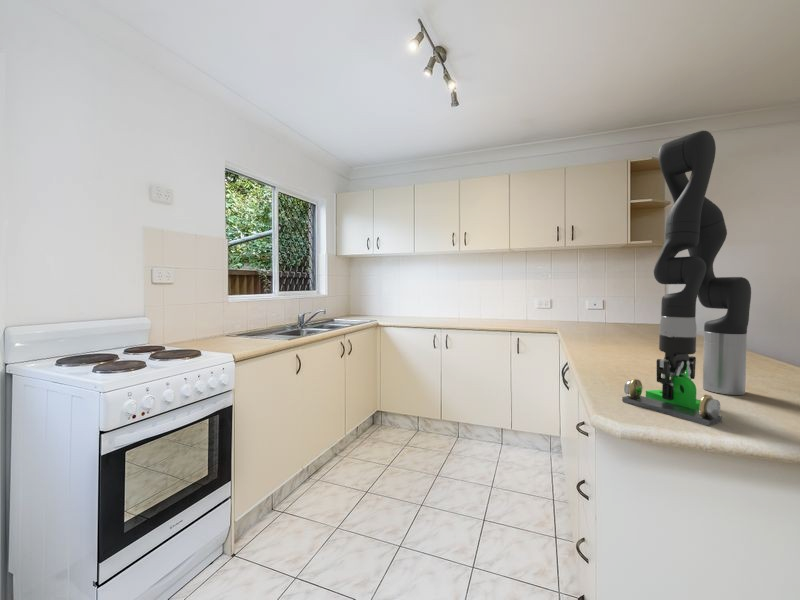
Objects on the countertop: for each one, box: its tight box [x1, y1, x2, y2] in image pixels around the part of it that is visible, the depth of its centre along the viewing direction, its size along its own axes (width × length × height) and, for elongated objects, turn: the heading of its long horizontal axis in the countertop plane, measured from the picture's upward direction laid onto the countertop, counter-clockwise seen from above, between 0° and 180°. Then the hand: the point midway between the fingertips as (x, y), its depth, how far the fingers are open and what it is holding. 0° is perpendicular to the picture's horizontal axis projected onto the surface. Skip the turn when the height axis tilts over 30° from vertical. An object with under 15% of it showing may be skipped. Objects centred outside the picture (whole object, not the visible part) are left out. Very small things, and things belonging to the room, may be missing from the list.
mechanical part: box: [645, 377, 701, 410], centre depth 93 cm, size 12×6×8 cm, turn 12°
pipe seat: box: [621, 378, 723, 427], centre depth 88 cm, size 6×19×6 cm, turn 26°
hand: (675, 397), depth 93 cm, fingers closed on mechanical part, 7 cm apart
